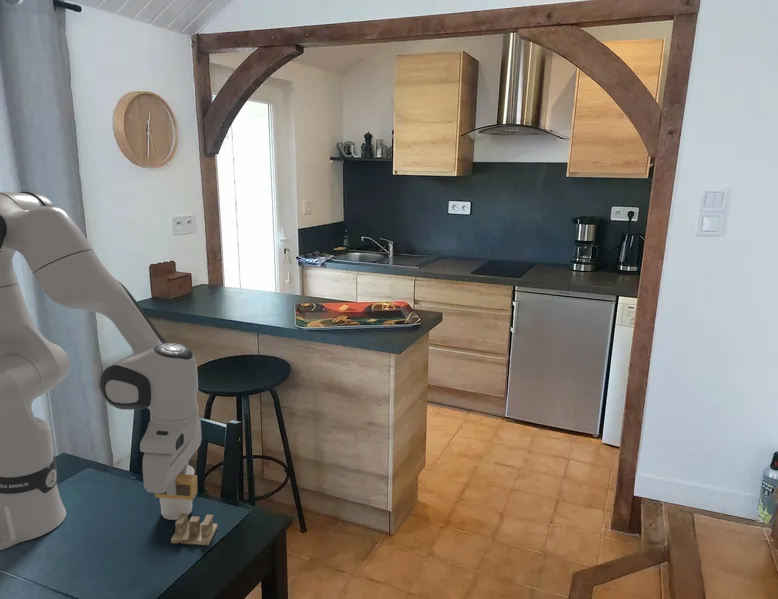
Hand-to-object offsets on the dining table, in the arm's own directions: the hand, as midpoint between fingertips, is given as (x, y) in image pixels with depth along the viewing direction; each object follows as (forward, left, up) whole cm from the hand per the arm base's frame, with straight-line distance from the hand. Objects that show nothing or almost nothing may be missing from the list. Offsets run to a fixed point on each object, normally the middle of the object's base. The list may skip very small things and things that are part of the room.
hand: (176, 487), depth 111 cm
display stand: (+2, +5, -15) cm, 16 cm away
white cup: (-5, +13, -15) cm, 21 cm away
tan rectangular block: (0, 0, -2) cm, 2 cm away
